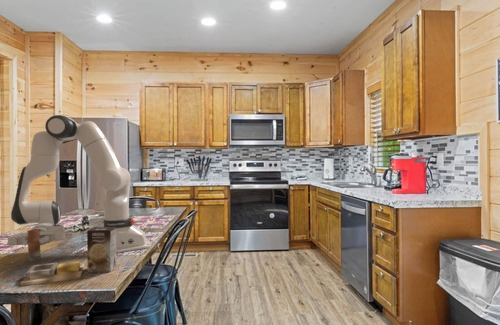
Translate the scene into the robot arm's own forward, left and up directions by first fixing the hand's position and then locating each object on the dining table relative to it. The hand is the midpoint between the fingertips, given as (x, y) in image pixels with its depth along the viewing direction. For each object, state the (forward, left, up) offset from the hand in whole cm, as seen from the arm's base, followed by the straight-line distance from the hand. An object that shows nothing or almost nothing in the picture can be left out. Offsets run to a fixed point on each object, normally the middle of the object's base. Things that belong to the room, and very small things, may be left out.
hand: (33, 241), depth 127 cm
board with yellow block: (-10, +13, -10) cm, 19 cm away
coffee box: (-26, +13, -11) cm, 31 cm away
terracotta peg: (0, -1, -8) cm, 8 cm away
